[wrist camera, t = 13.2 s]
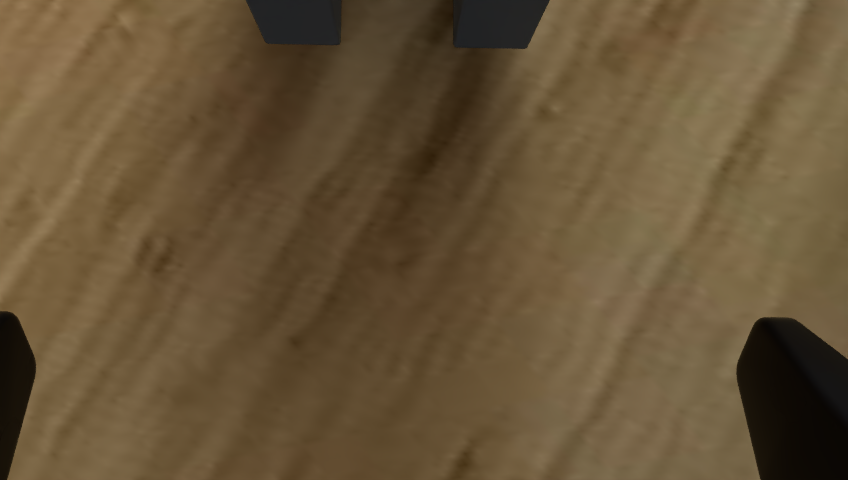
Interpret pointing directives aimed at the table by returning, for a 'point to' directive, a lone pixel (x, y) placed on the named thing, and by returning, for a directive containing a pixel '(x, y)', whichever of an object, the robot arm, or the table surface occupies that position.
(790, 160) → the table surface
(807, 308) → the table surface
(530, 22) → the dark blocky forked piece
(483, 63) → the table surface
